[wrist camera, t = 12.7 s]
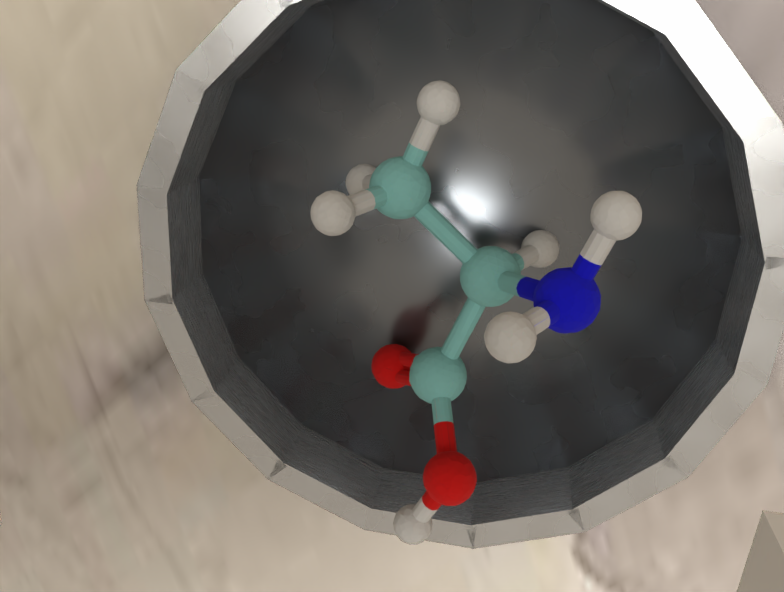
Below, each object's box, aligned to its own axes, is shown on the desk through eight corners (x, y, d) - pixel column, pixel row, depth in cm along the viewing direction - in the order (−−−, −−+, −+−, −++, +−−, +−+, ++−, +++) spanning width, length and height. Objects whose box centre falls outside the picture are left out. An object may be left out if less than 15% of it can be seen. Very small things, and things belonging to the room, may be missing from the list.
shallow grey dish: (201, 436, 32) (158, 494, 28) (179, -85, 24) (116, -100, 20) (684, 514, 29) (706, 588, 25) (835, -46, 21) (898, -55, 18)
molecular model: (167, 197, 22) (255, 339, 14) (423, 39, 24) (641, 81, 15) (335, 440, 28) (465, 639, 20) (529, 303, 30) (725, 434, 22)
